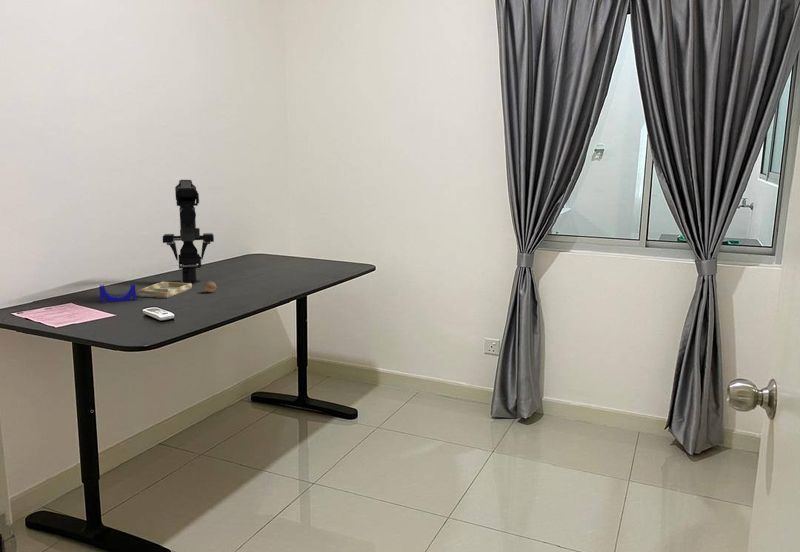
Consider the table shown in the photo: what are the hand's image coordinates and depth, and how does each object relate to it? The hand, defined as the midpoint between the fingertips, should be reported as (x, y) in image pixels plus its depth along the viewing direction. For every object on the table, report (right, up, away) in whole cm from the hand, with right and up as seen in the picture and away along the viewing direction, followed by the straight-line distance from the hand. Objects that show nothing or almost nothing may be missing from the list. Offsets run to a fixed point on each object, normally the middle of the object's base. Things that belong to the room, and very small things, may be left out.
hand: (189, 259), depth 250 cm
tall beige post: (-12, -10, +6) cm, 17 cm away
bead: (+7, -13, +4) cm, 15 cm away
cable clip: (-22, -16, -12) cm, 30 cm away
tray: (-10, -13, +2) cm, 17 cm away
